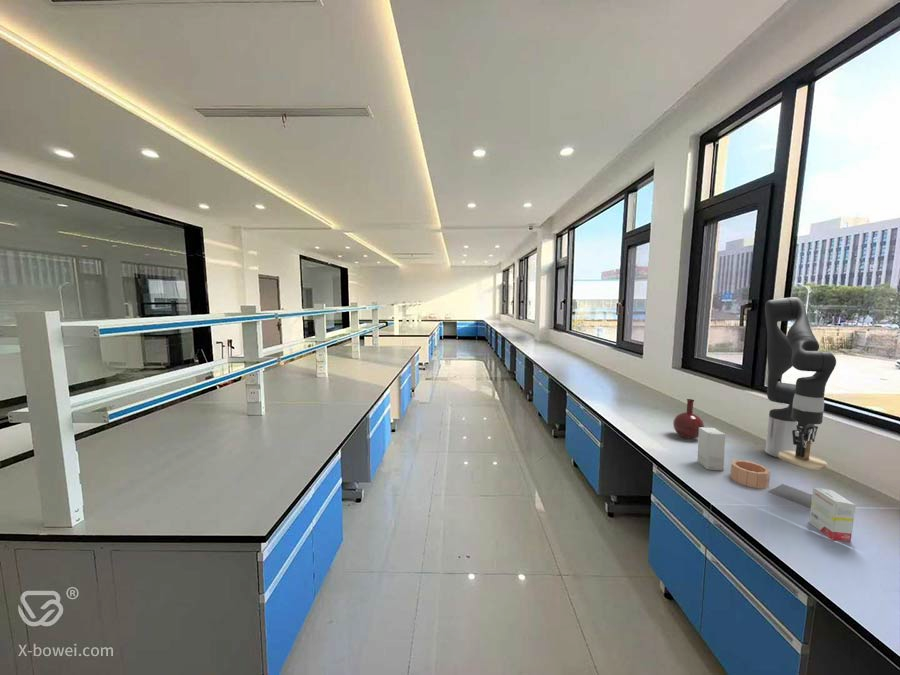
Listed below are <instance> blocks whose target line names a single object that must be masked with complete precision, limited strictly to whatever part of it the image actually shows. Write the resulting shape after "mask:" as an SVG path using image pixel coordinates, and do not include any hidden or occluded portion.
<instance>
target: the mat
mask: <svg viewBox="0 0 900 675" xmlns="http://www.w3.org/2000/svg"><path fill="white" fill-rule="evenodd" d="M767 493H769V494H772V495H775V496H777V497H780V498H782V499H785V500H787V501H791V502H793V503H796V504H798V505H800V506H803V507H806V508H808V509H811V502H812V495H813V493H809V492H806V491H803V490H800V489H797V488H795V487H792V486H789V485H786V484H783V483H781V484H780V485H778V486H775V487H774V488H771V489H770V490H768V491H767Z"/></svg>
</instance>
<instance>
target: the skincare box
mask: <svg viewBox="0 0 900 675" xmlns="http://www.w3.org/2000/svg"><path fill="white" fill-rule="evenodd" d="M697 439H698V441H697V442H698V443H697V460H696V461H697V462H698V463H699V464H700V465H701V466H703V467H704V468H705V469H706V470H709V471H711V470H712V471H719V472H721V471H724V466H725V450H726V449H725V448H726V433H723V431H720V430H719V429H717V428H715V427H705V428H703V427H699V437H698V438H697Z"/></svg>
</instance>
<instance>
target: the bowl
mask: <svg viewBox="0 0 900 675" xmlns="http://www.w3.org/2000/svg"><path fill="white" fill-rule="evenodd" d="M729 476H730V479H731V480H733V481H735V482H736V483H738V484H741V485H744V486H746V487H750V488H754V489H767V488H768V487H770V486H769V485H770V477H771V471H770V469H769V468H768V467H767V466H766V467H765V466H764V465H761V464H758V463H757V462H753V461H747V460H742V459H741V460H740V459H735V460H732V461H731V464H730V474H729Z"/></svg>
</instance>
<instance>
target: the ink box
mask: <svg viewBox="0 0 900 675" xmlns="http://www.w3.org/2000/svg"><path fill="white" fill-rule="evenodd" d="M855 513H856V504H855V503H853V502H851V501H849V500H848V499H847V498H845V497H843V495H840V494H839V493H837V492H835V491H834V490H832V489H826V488H821V487H820V488H819V487H813V488H812V502H811V508H810V512H809V521H808V522H809V523H810V524H811V525H813V526H814V527H815V529H818V530H819V531H820V532H821V533H823V534H824V535H826V536H827V538H829V539H830V540H832V541H841V542H852V533H853V526H854V521H855V520H854V519H855Z"/></svg>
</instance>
